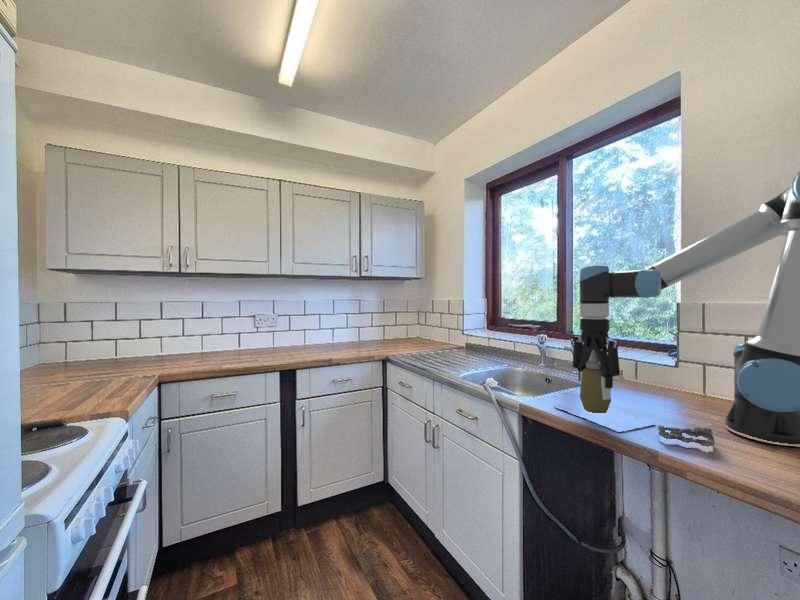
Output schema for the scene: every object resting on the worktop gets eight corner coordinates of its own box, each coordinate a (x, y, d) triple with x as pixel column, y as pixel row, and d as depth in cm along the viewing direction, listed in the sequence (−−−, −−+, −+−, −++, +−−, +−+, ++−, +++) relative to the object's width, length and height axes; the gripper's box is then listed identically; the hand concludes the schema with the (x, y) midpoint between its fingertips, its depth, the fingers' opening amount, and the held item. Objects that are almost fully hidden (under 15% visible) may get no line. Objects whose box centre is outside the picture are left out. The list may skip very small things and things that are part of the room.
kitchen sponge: (714, 445, 83) (714, 428, 83) (715, 457, 77) (715, 439, 77) (658, 434, 90) (658, 418, 90) (656, 443, 84) (656, 427, 84)
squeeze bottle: (595, 416, 97) (594, 353, 97) (573, 407, 105) (573, 349, 105) (618, 413, 99) (617, 351, 99) (595, 405, 107) (594, 347, 107)
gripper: (635, 319, 94) (636, 403, 94) (576, 315, 112) (577, 386, 113) (615, 320, 92) (616, 407, 92) (558, 316, 110) (559, 389, 110)
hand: (595, 395), depth 102 cm, fingers closed on squeeze bottle, 6 cm apart
